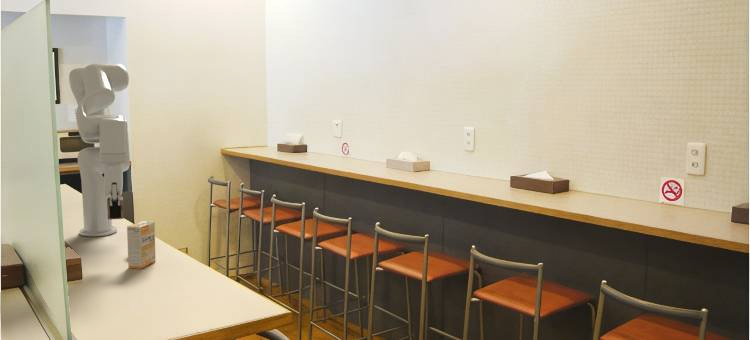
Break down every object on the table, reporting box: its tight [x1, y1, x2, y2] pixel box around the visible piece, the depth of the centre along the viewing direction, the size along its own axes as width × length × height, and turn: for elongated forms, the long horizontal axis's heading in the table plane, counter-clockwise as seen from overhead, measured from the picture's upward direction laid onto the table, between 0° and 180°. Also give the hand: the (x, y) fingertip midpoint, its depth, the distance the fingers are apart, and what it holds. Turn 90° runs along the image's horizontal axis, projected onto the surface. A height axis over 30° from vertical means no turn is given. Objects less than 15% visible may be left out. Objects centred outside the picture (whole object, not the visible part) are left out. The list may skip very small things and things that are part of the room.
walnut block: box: [107, 196, 125, 220], centre depth 199 cm, size 4×4×6 cm
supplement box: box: [126, 220, 156, 270], centre depth 197 cm, size 8×5×13 cm, turn 168°
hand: (115, 215), depth 200 cm, fingers closed on walnut block, 4 cm apart
